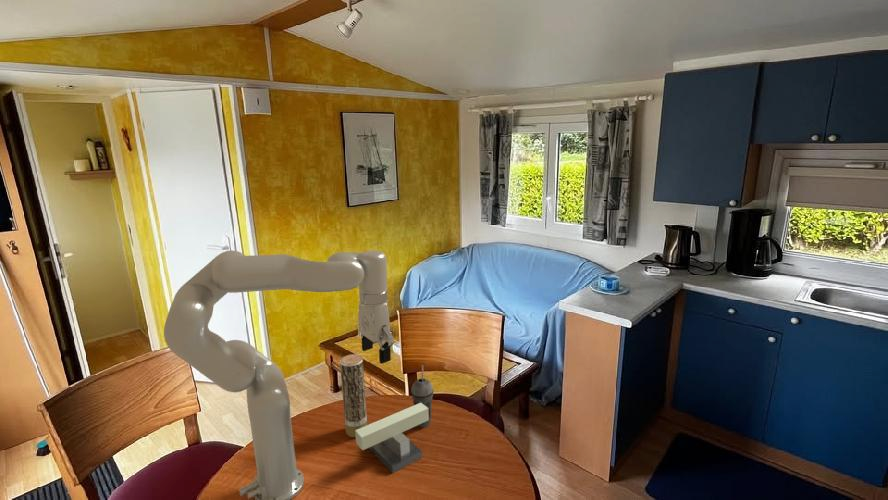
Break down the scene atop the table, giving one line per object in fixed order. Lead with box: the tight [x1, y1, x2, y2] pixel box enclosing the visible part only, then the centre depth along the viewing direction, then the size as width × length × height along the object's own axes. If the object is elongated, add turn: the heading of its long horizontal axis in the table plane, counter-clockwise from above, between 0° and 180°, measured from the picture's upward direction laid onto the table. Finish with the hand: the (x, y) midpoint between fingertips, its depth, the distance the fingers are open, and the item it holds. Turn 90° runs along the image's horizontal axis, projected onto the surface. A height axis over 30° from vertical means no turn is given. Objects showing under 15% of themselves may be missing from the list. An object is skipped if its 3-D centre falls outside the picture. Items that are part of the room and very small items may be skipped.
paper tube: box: [339, 353, 368, 438], centre depth 136 cm, size 7×7×25 cm
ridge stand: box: [368, 432, 423, 474], centre depth 129 cm, size 10×14×7 cm
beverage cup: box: [410, 364, 434, 428], centre depth 141 cm, size 7×7×20 cm
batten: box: [355, 403, 429, 451], centre depth 128 cm, size 22×4×4 cm, turn 127°
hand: (376, 355), depth 122 cm, fingers open, 9 cm apart
